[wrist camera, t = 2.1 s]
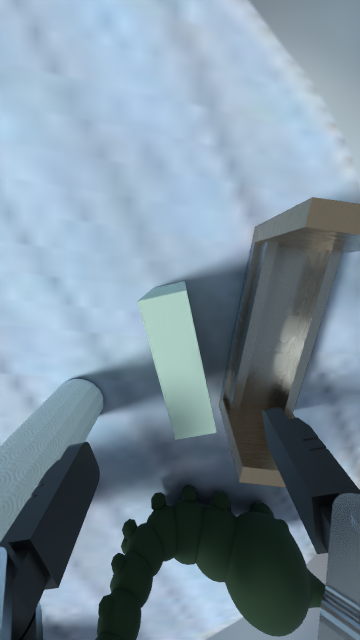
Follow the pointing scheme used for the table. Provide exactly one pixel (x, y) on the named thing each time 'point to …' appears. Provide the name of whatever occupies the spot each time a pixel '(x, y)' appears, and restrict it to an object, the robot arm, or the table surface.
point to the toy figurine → (212, 564)
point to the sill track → (280, 323)
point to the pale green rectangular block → (177, 359)
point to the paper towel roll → (44, 443)
